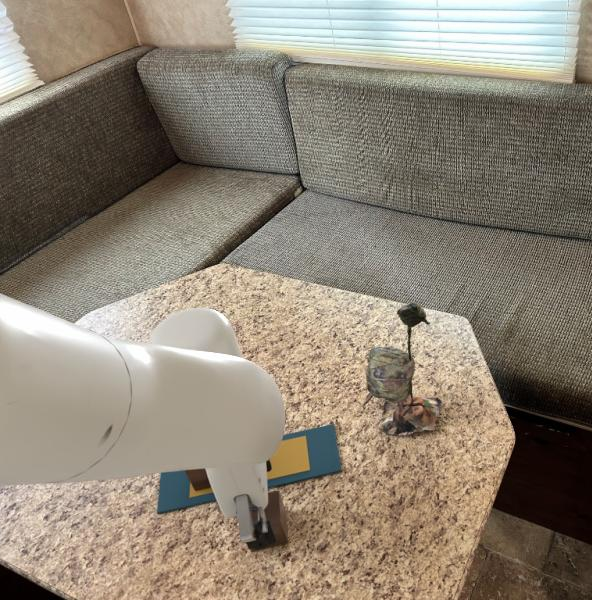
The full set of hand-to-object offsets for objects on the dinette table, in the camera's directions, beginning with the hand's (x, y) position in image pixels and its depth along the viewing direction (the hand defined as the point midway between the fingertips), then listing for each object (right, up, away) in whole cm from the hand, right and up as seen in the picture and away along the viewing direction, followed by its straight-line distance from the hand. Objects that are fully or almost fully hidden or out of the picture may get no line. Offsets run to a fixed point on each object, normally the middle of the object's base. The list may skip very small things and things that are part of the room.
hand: (261, 505), depth 72 cm
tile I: (0, -4, +3) cm, 5 cm away
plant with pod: (+17, +8, +15) cm, 24 cm away
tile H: (-9, +1, +9) cm, 13 cm away
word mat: (-4, +2, +10) cm, 11 cm away
